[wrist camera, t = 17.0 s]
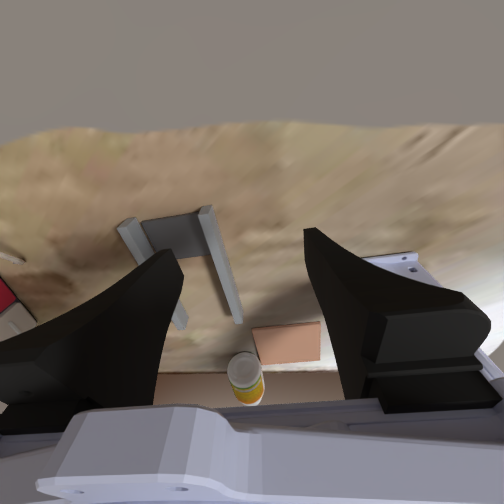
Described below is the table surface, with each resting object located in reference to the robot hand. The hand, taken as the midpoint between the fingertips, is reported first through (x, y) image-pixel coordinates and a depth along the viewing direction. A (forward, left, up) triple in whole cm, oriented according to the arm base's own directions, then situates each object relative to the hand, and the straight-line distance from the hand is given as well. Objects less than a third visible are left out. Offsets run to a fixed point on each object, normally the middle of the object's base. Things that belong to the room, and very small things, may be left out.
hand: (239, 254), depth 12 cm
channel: (+8, +9, -10) cm, 16 cm away
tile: (-2, +26, -10) cm, 28 cm away
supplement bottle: (+5, +27, -8) cm, 28 cm away
